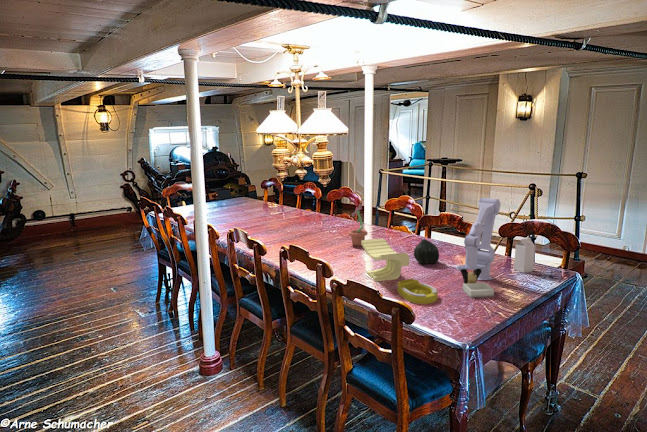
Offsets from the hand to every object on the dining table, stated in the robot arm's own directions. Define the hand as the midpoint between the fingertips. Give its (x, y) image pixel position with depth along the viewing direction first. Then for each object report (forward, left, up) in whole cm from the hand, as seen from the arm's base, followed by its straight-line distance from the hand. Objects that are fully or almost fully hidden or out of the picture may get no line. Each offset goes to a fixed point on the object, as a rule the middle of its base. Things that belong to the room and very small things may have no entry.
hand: (470, 282), depth 216 cm
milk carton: (-19, +40, -2) cm, 44 cm away
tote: (+9, 0, -2) cm, 10 cm away
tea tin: (0, 0, -2) cm, 2 cm away
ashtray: (+8, -30, -2) cm, 32 cm away
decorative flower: (-87, -45, -2) cm, 98 cm away
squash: (-41, -10, -2) cm, 42 cm away
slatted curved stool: (-21, -41, -2) cm, 46 cm away
